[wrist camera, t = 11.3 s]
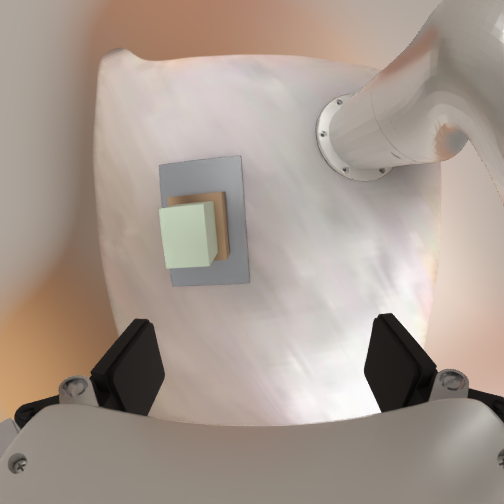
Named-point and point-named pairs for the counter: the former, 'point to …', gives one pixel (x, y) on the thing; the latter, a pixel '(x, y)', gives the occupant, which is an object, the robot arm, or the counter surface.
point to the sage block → (189, 234)
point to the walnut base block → (220, 217)
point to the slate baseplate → (229, 181)
